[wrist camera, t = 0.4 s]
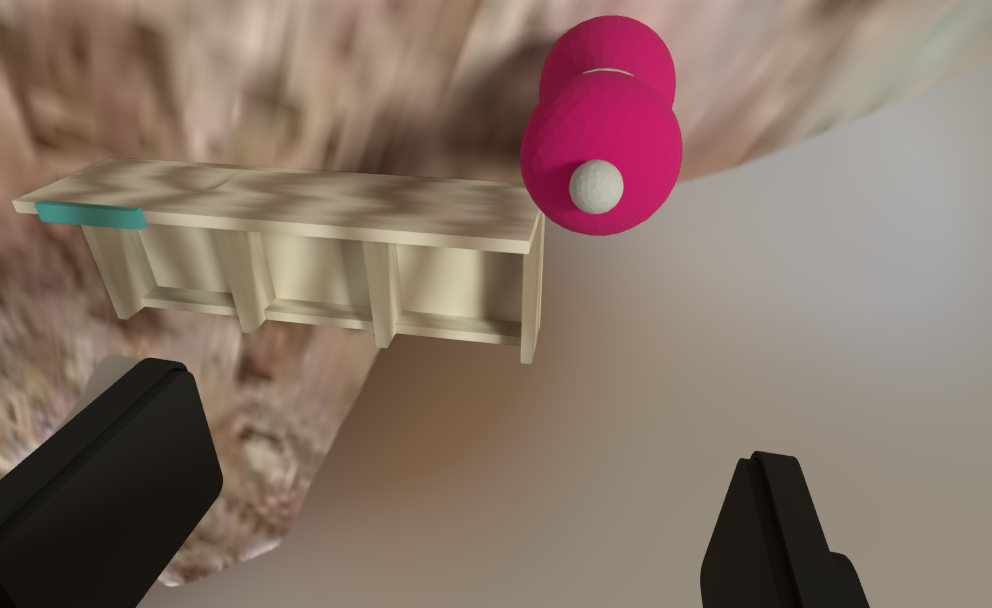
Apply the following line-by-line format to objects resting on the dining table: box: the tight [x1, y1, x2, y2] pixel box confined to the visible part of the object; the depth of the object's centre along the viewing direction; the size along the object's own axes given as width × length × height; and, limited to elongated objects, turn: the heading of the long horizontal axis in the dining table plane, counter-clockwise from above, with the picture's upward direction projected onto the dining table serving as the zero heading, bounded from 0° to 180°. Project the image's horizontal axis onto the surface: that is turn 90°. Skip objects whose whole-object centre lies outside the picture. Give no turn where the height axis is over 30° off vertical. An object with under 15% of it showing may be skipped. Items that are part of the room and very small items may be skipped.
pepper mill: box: [520, 15, 682, 236], centre depth 27 cm, size 7×7×20 cm
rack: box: [12, 157, 545, 364], centre depth 41 cm, size 33×12×9 cm, turn 90°
